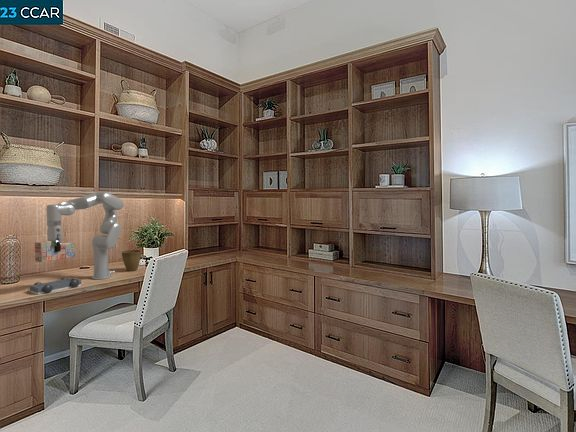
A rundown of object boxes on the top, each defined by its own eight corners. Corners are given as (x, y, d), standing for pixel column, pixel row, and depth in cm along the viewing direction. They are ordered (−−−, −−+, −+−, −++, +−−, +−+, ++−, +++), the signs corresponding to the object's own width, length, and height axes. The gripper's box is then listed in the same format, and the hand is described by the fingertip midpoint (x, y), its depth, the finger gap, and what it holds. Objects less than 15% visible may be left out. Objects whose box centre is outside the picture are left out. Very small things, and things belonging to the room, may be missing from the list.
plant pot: (121, 269, 282) (121, 250, 281) (140, 268, 289) (140, 249, 288) (122, 273, 268) (121, 253, 268) (142, 271, 276) (142, 251, 275)
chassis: (71, 283, 235) (71, 276, 235) (82, 285, 228) (82, 278, 228) (28, 291, 213) (28, 283, 212) (39, 294, 206) (39, 286, 206)
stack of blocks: (68, 256, 232) (68, 238, 231) (74, 256, 229) (74, 238, 229) (35, 261, 212) (34, 241, 211) (41, 262, 210) (40, 242, 209)
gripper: (67, 223, 218) (67, 251, 219) (53, 222, 227) (54, 249, 228) (54, 224, 211) (55, 253, 212) (40, 223, 220) (41, 250, 221)
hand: (54, 250), depth 220 cm, fingers closed on stack of blocks, 6 cm apart
